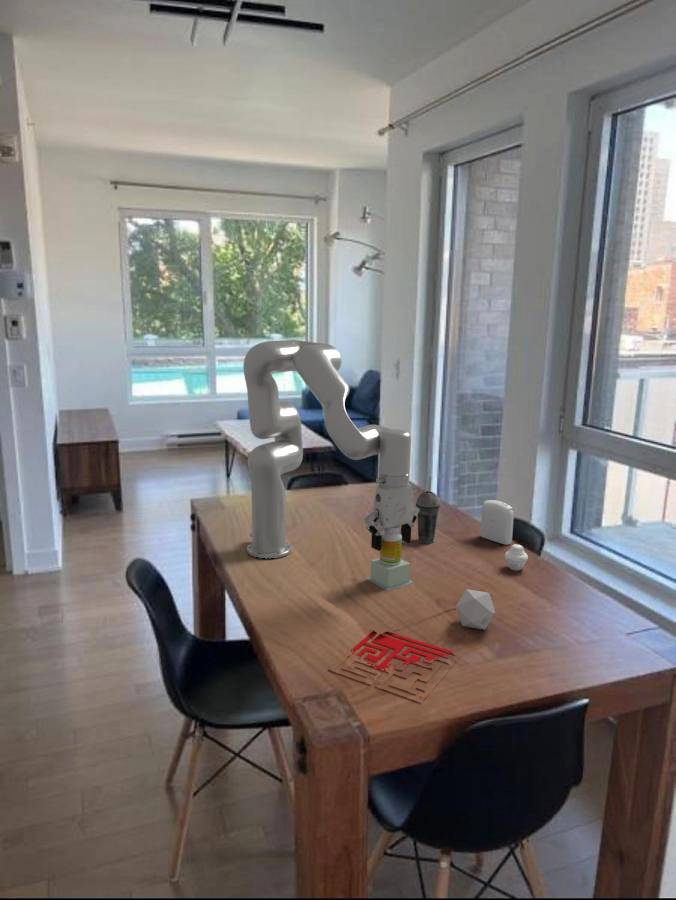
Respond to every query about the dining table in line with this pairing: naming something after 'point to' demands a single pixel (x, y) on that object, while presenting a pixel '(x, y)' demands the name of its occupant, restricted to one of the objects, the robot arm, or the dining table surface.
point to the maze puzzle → (396, 649)
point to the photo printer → (497, 521)
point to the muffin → (516, 557)
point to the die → (475, 609)
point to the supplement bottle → (391, 546)
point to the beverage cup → (427, 515)
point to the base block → (390, 573)
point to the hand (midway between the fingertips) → (391, 545)
